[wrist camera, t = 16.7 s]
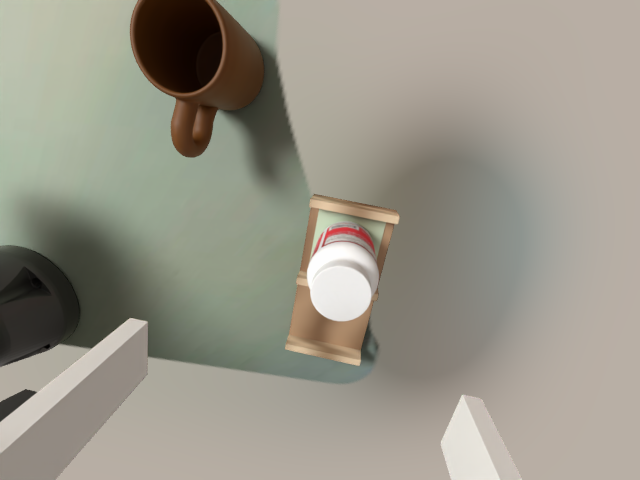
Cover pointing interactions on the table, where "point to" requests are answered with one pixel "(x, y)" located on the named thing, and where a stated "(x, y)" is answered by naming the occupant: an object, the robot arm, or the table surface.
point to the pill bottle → (343, 272)
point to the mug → (195, 63)
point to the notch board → (307, 323)
